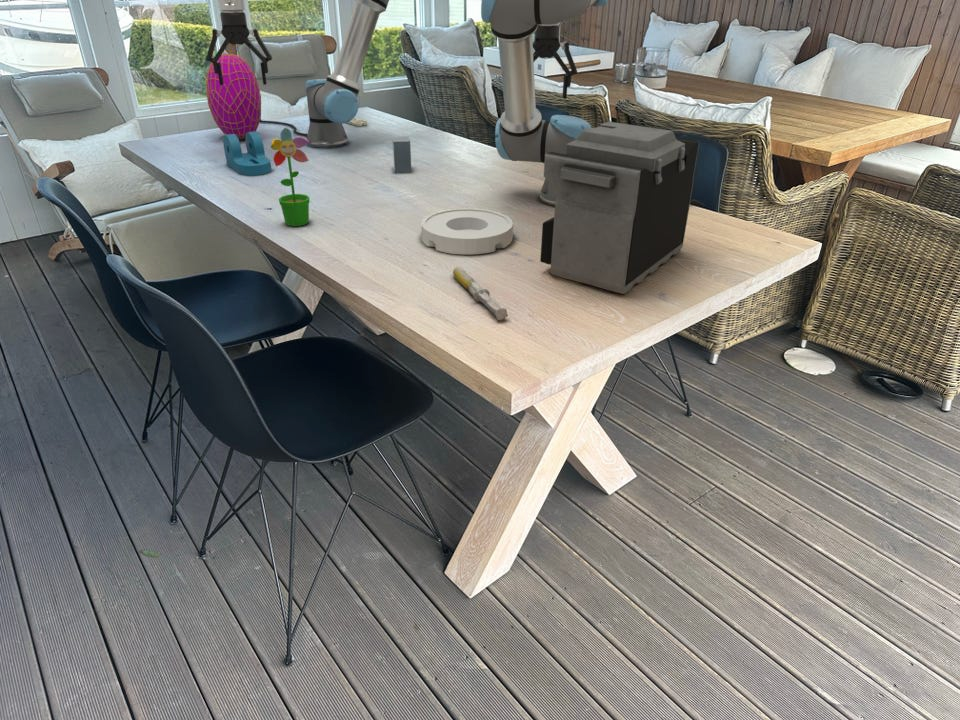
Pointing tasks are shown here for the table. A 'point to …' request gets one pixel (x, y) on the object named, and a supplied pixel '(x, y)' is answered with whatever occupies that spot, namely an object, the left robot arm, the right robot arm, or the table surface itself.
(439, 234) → the ashtray
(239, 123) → the decorative egg
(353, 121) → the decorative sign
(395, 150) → the block
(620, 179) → the electronic device
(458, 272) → the syringe
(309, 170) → the table surface
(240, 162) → the camera mount
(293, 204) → the potted flower
